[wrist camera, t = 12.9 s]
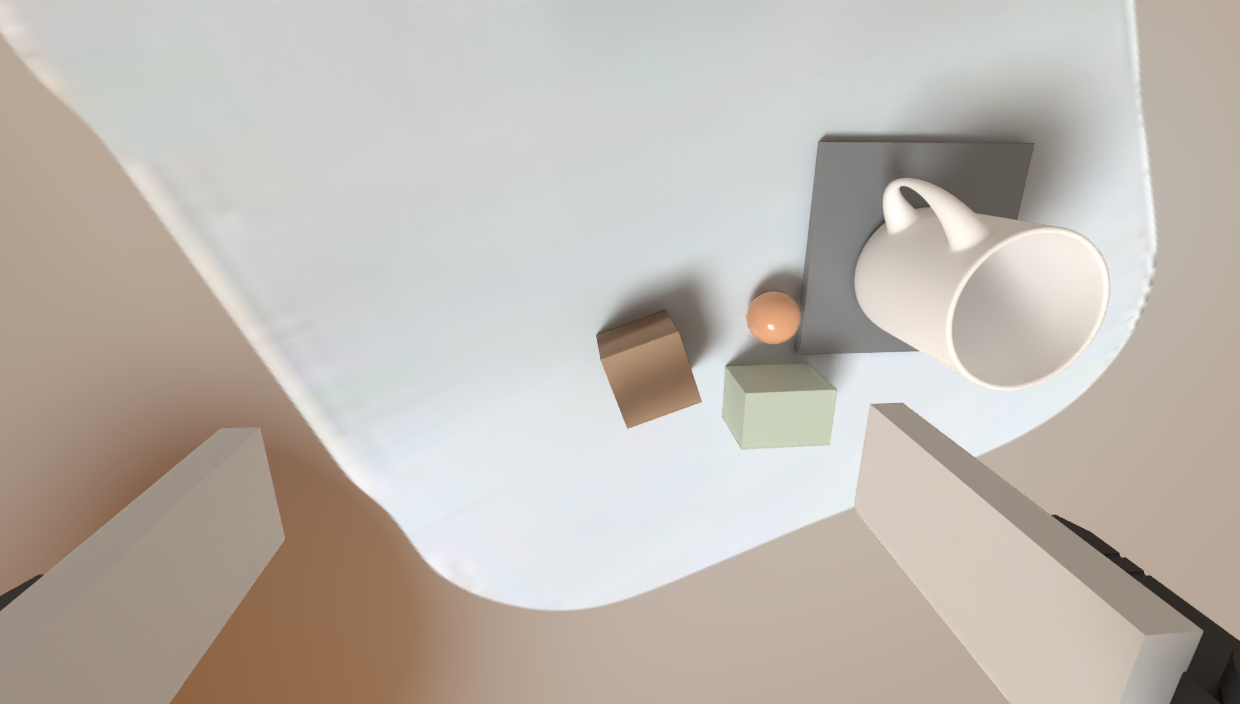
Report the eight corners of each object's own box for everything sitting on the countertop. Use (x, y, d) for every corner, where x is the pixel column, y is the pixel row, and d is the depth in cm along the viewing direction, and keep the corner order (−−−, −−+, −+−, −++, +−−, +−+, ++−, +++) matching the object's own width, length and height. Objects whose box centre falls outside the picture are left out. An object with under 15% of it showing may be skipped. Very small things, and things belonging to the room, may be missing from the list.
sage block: (724, 365, 42) (745, 393, 37) (806, 362, 42) (837, 389, 38) (721, 416, 43) (741, 449, 38) (800, 412, 44) (829, 445, 39)
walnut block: (596, 334, 40) (600, 359, 35) (664, 309, 40) (678, 331, 35) (620, 396, 42) (627, 428, 37) (686, 373, 42) (701, 401, 37)
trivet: (818, 141, 37) (823, 141, 36) (1024, 143, 38) (1034, 143, 38) (795, 350, 42) (799, 354, 41) (980, 345, 43) (987, 349, 42)
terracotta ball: (741, 286, 40) (758, 299, 36) (791, 285, 40) (812, 298, 37) (738, 335, 41) (753, 352, 38) (786, 334, 41) (806, 350, 38)
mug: (920, 131, 37) (1056, 126, 27) (990, 283, 40) (1132, 329, 30) (803, 213, 38) (891, 238, 28) (882, 354, 42) (985, 420, 31)
